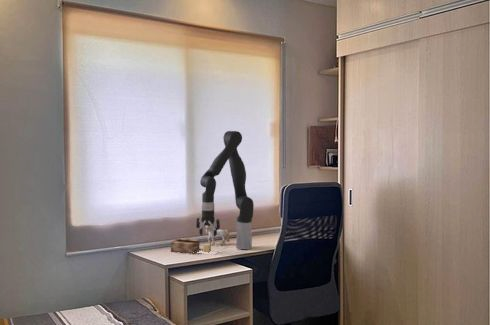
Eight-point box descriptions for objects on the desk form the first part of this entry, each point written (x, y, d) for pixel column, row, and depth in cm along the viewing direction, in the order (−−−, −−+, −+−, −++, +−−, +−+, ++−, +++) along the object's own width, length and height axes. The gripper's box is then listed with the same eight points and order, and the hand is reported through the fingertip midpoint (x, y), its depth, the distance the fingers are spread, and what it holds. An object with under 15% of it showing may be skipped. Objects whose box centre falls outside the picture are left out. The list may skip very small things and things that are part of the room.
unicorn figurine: (198, 245, 320) (199, 224, 319) (225, 242, 330) (226, 222, 329) (203, 247, 314) (203, 227, 313) (230, 244, 324) (231, 224, 323)
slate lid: (218, 252, 305) (219, 243, 305) (214, 256, 297) (214, 246, 297) (200, 250, 309) (200, 241, 308) (195, 254, 301) (195, 244, 300)
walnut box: (199, 249, 310) (199, 239, 310) (192, 254, 299) (192, 244, 298) (178, 247, 314) (178, 237, 313) (170, 251, 302) (170, 242, 302)
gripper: (221, 208, 302) (221, 234, 303) (199, 207, 305) (199, 233, 307) (217, 210, 294) (217, 237, 296) (194, 209, 298) (194, 236, 300)
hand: (208, 235), depth 301 cm, fingers open, 8 cm apart
